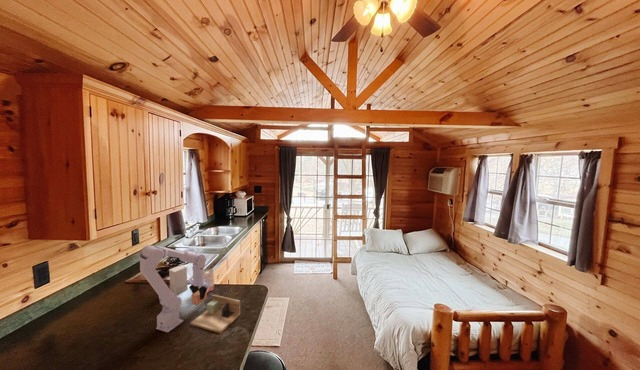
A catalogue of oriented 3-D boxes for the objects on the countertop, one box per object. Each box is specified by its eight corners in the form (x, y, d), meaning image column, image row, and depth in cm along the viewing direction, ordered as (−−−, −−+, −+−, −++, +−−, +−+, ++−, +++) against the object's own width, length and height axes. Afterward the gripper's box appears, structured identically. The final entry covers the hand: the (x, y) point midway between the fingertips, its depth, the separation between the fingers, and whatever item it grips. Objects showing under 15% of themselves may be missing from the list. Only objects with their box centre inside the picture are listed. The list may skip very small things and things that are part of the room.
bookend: (227, 318, 131) (227, 309, 130) (221, 316, 132) (221, 307, 131) (234, 312, 136) (234, 303, 135) (227, 310, 137) (227, 302, 136)
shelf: (220, 333, 121) (219, 317, 120) (190, 324, 127) (190, 309, 126) (240, 314, 136) (240, 300, 135) (213, 307, 142) (212, 294, 141)
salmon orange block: (197, 304, 135) (197, 296, 135) (191, 303, 137) (191, 294, 136) (206, 298, 142) (206, 290, 142) (201, 297, 143) (201, 288, 143)
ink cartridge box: (210, 287, 164) (209, 266, 163) (214, 289, 161) (213, 268, 160) (197, 292, 158) (196, 270, 156) (201, 295, 155) (200, 272, 153)
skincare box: (182, 287, 164) (181, 264, 163) (188, 289, 161) (187, 266, 159) (169, 292, 157) (168, 269, 155) (175, 295, 153) (174, 271, 152)
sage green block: (213, 314, 134) (212, 305, 133) (207, 312, 135) (207, 304, 134) (219, 308, 139) (219, 300, 138) (214, 307, 140) (214, 299, 139)
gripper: (214, 273, 139) (214, 296, 141) (194, 269, 144) (194, 292, 145) (204, 279, 133) (205, 303, 134) (184, 274, 137) (184, 298, 138)
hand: (199, 297), depth 139 cm, fingers closed on salmon orange block, 4 cm apart
